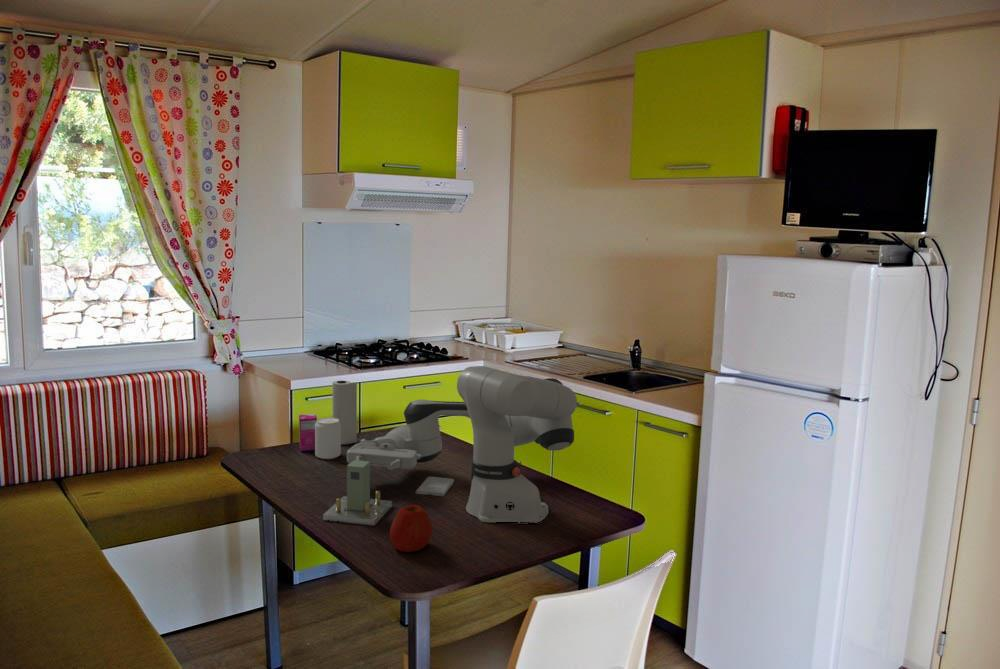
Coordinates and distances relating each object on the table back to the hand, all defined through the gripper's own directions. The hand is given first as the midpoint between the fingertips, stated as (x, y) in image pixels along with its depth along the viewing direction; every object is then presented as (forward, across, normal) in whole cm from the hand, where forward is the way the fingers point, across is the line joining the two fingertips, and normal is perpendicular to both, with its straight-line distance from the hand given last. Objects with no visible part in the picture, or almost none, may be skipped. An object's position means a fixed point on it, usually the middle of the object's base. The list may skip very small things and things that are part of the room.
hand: (373, 465), depth 227 cm
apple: (+29, -20, -10) cm, 36 cm away
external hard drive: (-13, -14, -10) cm, 22 cm away
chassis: (+12, 0, -9) cm, 15 cm away
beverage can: (-32, +27, -10) cm, 42 cm away
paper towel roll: (-46, +28, -10) cm, 55 cm away
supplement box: (-37, +36, -10) cm, 52 cm away
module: (+12, 0, -8) cm, 14 cm away
